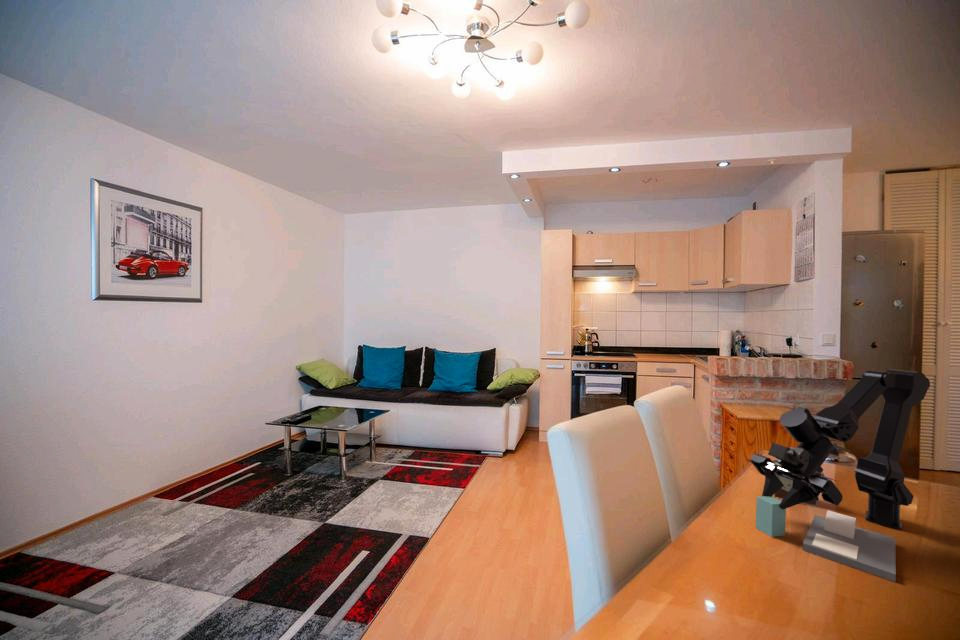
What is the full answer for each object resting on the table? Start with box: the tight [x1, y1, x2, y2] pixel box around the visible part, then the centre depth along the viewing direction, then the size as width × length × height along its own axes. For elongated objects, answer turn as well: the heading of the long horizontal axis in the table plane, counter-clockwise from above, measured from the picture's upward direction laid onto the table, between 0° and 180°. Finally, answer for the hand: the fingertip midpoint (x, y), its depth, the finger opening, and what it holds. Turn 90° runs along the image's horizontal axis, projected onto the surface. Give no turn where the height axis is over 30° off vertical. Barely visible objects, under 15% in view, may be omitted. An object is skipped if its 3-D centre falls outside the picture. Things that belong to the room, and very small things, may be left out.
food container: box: [771, 459, 825, 508], centre depth 114 cm, size 12×6×10 cm, turn 58°
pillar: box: [755, 495, 787, 538], centre depth 94 cm, size 4×4×8 cm
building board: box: [802, 509, 897, 583], centre depth 88 cm, size 20×14×4 cm
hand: (771, 503), depth 94 cm, fingers closed on pillar, 4 cm apart
